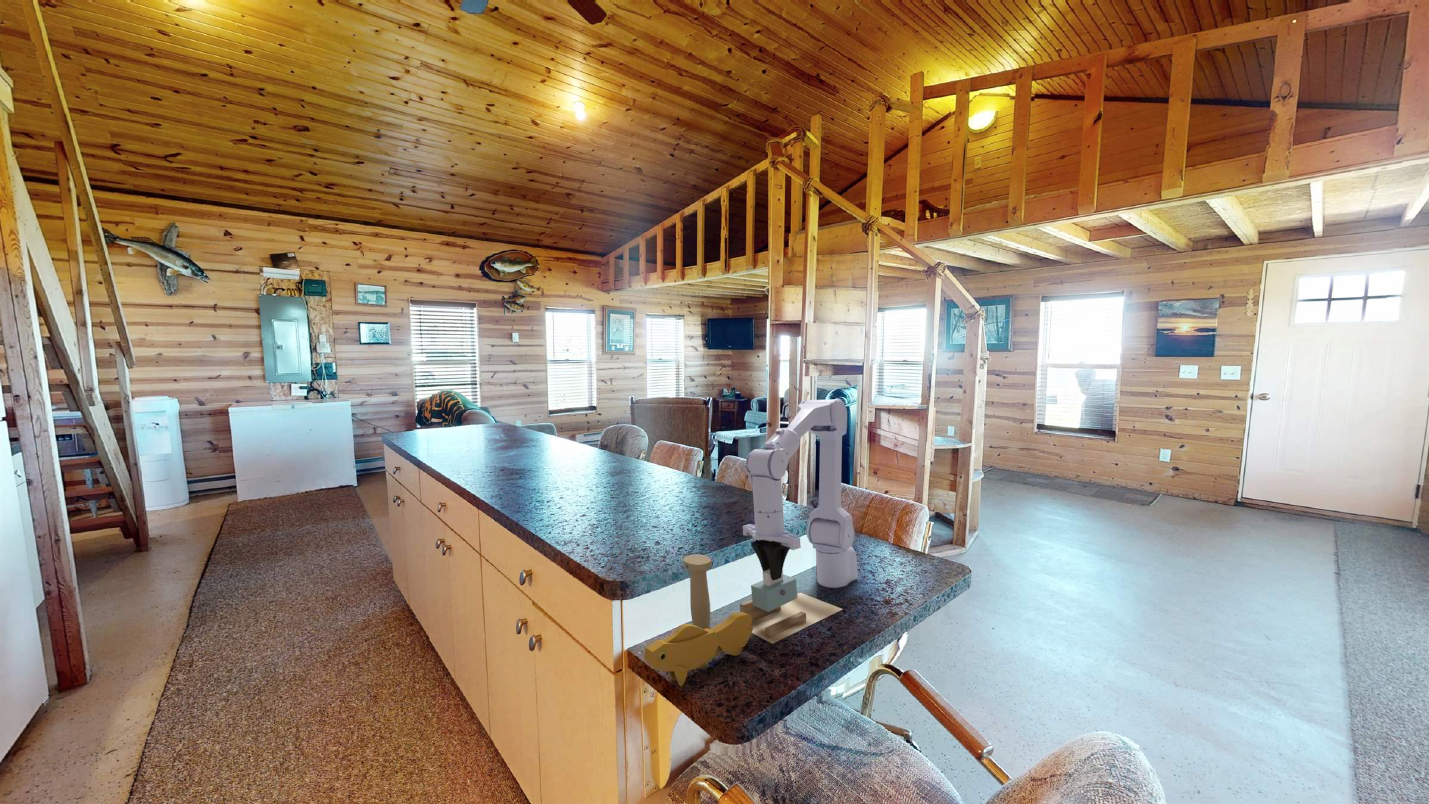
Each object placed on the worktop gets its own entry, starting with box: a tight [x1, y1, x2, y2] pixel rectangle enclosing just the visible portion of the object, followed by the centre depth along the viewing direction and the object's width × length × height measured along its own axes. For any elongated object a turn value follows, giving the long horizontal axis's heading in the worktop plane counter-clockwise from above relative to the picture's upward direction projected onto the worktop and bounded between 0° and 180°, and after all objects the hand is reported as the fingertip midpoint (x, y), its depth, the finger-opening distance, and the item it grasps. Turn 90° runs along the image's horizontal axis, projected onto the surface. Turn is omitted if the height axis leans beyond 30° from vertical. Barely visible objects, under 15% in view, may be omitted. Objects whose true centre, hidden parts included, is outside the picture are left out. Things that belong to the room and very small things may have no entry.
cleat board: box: [739, 592, 843, 644], centre depth 106 cm, size 20×12×5 cm, turn 127°
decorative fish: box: [643, 611, 753, 687], centre depth 90 cm, size 22×3×10 cm, turn 127°
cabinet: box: [750, 569, 798, 612], centre depth 103 cm, size 8×5×6 cm, turn 127°
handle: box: [682, 553, 713, 629], centre depth 103 cm, size 5×6×15 cm
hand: (772, 577), depth 103 cm, fingers closed on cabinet
